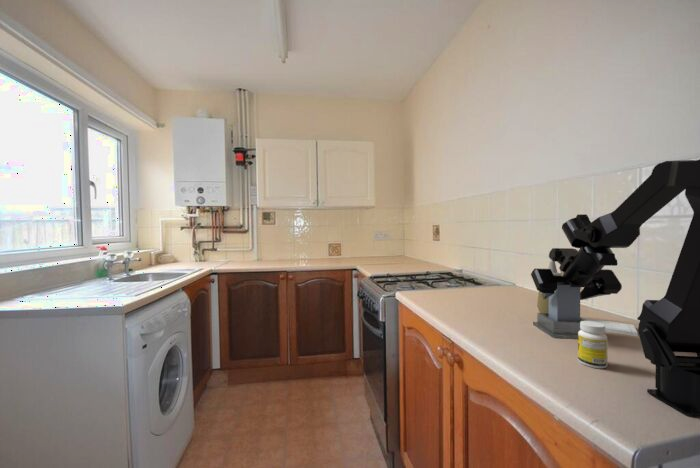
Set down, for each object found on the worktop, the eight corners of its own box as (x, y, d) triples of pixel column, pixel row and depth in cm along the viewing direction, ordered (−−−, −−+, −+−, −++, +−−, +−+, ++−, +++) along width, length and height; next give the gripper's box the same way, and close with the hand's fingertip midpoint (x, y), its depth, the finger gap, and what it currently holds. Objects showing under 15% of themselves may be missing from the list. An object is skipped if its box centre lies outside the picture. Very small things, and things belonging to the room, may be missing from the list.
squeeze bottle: (531, 317, 93) (531, 260, 93) (546, 313, 96) (547, 259, 96) (558, 324, 86) (558, 263, 85) (574, 320, 89) (574, 261, 89)
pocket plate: (599, 339, 74) (599, 323, 74) (552, 337, 75) (552, 321, 75) (574, 326, 84) (574, 311, 84) (533, 324, 86) (533, 310, 86)
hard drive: (577, 323, 84) (637, 331, 76) (577, 316, 90) (633, 323, 83) (577, 328, 84) (638, 338, 76) (577, 321, 90) (633, 329, 83)
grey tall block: (580, 331, 77) (580, 281, 77) (557, 330, 78) (557, 281, 78) (569, 326, 82) (570, 278, 81) (548, 325, 82) (548, 278, 82)
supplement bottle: (583, 356, 64) (584, 318, 64) (611, 365, 60) (611, 324, 60) (573, 362, 61) (573, 322, 61) (601, 371, 57) (601, 328, 57)
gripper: (613, 238, 74) (585, 275, 85) (534, 238, 77) (516, 273, 88) (639, 273, 66) (604, 309, 78) (550, 272, 69) (528, 306, 80)
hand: (561, 298), depth 81 cm, fingers open, 9 cm apart
